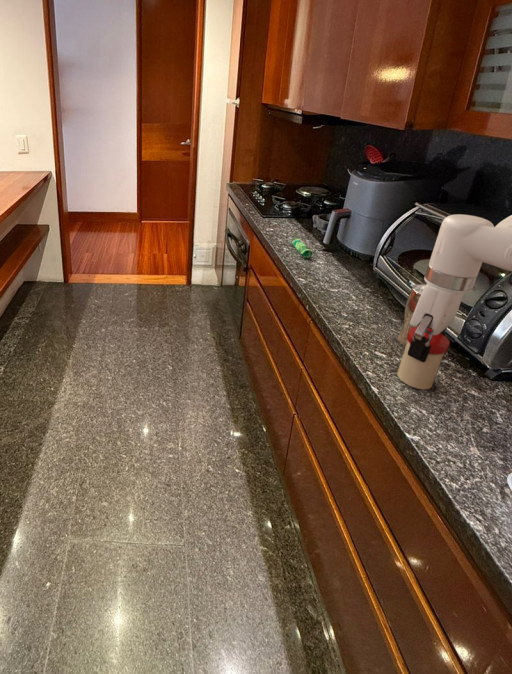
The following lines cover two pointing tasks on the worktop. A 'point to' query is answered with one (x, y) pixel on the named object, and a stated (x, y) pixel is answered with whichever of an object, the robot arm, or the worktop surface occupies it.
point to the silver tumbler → (410, 312)
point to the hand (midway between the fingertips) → (423, 351)
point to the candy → (301, 248)
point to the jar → (419, 369)
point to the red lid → (433, 341)
